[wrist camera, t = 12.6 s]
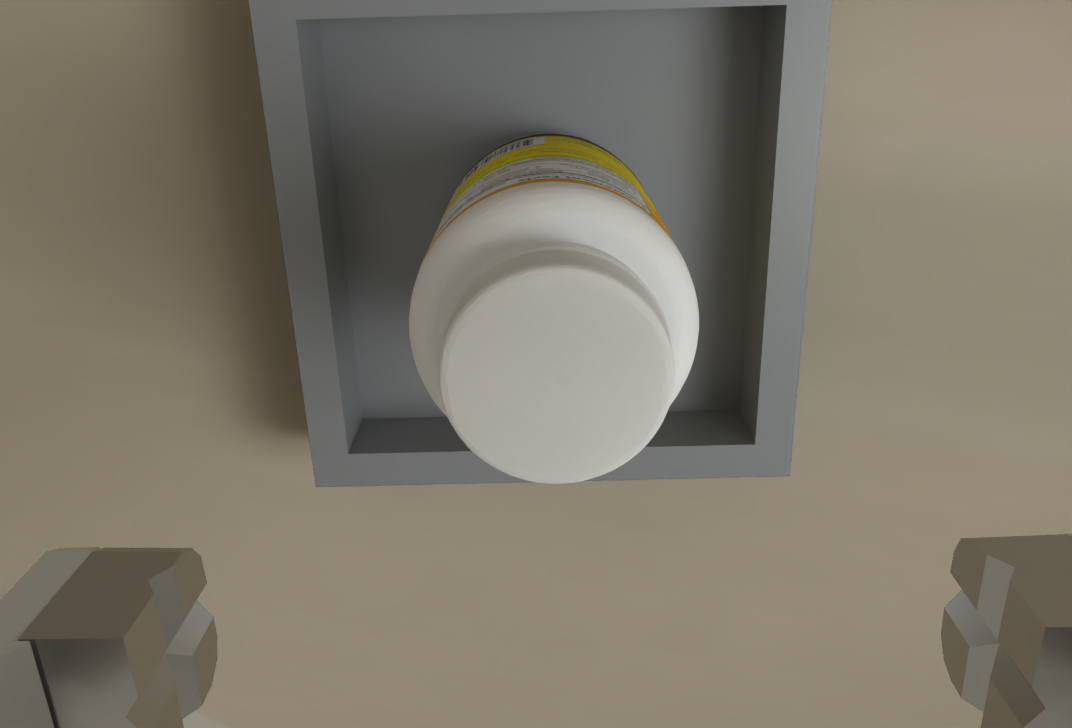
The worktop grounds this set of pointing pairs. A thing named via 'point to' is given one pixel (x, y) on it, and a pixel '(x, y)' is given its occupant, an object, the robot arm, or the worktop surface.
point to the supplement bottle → (553, 311)
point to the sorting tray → (519, 110)
